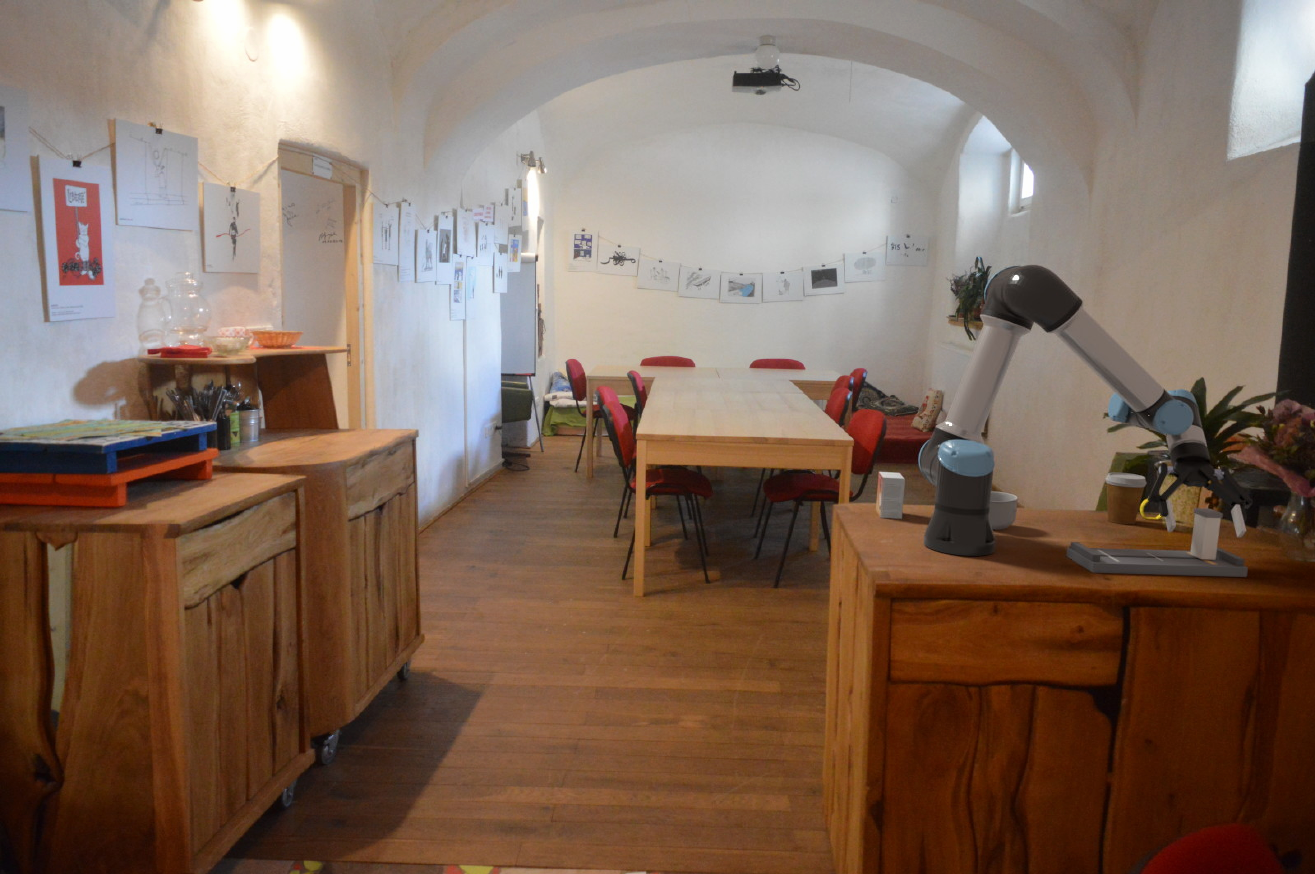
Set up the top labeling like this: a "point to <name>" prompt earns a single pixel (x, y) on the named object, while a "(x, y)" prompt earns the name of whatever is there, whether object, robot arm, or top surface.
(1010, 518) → the teacup
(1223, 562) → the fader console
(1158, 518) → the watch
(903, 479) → the small box
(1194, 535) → the fader knob
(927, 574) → the top surface
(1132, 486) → the disposable coffee cup
